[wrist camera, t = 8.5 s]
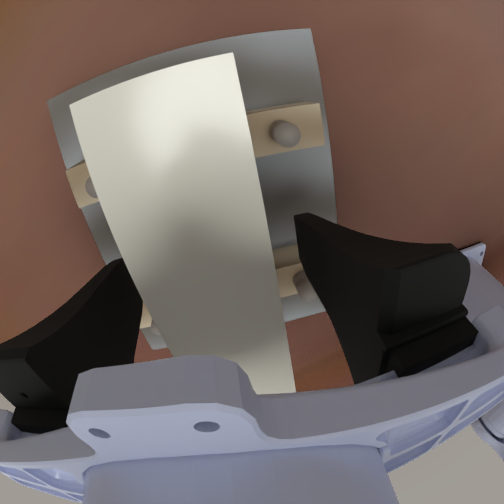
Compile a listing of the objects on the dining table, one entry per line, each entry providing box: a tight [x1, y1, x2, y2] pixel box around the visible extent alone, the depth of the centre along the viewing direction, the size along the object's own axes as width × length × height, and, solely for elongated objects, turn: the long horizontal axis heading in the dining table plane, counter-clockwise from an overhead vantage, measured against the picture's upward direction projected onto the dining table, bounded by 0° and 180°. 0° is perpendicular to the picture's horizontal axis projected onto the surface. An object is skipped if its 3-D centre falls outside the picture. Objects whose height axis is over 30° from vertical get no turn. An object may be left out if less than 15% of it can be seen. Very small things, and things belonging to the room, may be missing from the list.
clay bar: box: [69, 52, 296, 395], centre depth 12 cm, size 14×4×6 cm, turn 11°
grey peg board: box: [47, 29, 337, 350], centre depth 15 cm, size 18×14×4 cm
